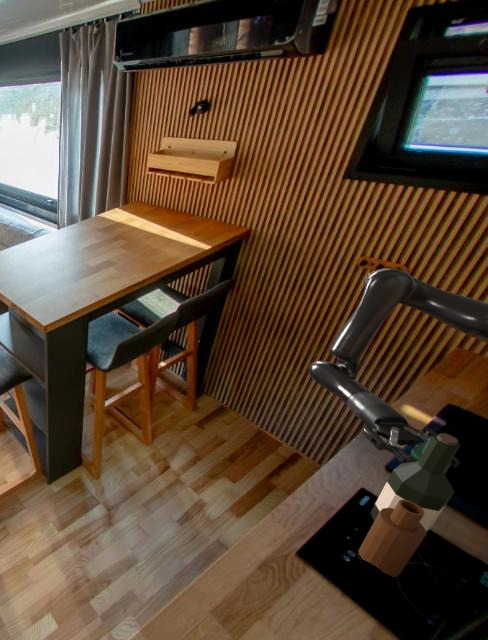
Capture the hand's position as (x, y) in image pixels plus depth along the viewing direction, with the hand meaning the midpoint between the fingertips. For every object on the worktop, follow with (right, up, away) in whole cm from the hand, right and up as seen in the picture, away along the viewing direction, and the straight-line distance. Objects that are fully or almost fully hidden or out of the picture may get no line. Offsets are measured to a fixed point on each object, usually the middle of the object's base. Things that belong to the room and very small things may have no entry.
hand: (432, 464), depth 86 cm
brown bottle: (-21, -19, -6) cm, 29 cm away
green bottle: (+2, -10, +5) cm, 11 cm away
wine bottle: (-10, -15, 0) cm, 18 cm away
